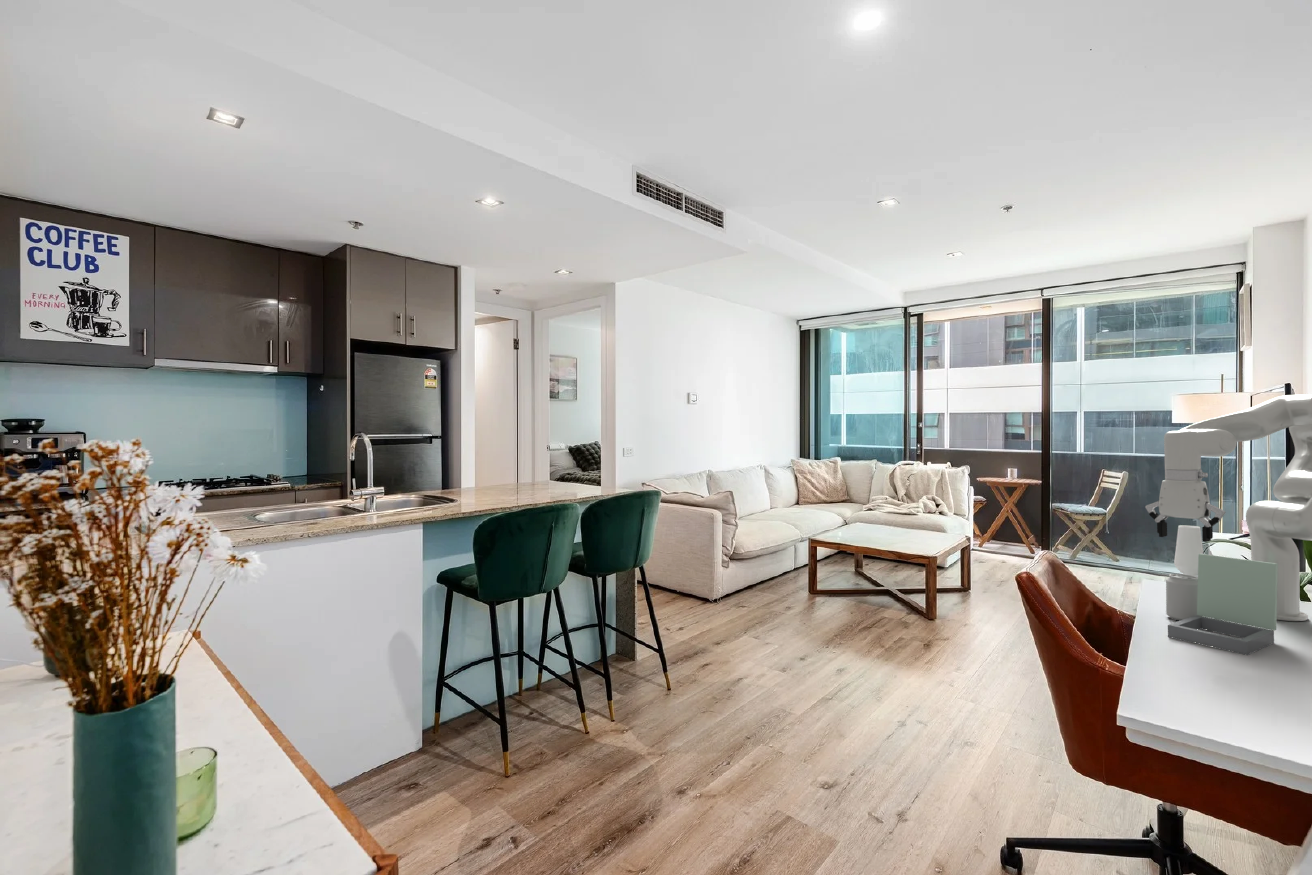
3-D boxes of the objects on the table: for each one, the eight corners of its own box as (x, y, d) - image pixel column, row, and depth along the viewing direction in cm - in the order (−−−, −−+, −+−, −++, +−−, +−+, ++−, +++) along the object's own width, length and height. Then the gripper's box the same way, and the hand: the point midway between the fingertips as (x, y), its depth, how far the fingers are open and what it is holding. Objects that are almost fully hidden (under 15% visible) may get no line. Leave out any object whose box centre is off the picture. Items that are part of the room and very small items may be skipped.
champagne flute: (1202, 609, 179) (1202, 525, 179) (1207, 615, 173) (1207, 528, 173) (1172, 605, 183) (1172, 524, 182) (1176, 611, 177) (1176, 527, 177)
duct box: (1196, 626, 163) (1196, 615, 163) (1273, 642, 150) (1273, 630, 150) (1167, 636, 156) (1167, 624, 156) (1246, 655, 142) (1246, 641, 142)
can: (1203, 625, 164) (1203, 579, 164) (1167, 620, 169) (1166, 576, 169) (1201, 618, 170) (1200, 574, 170) (1165, 614, 175) (1165, 571, 175)
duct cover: (1196, 614, 164) (1199, 614, 164) (1274, 630, 150) (1276, 629, 151) (1198, 553, 164) (1200, 553, 165) (1275, 563, 151) (1277, 563, 151)
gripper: (1229, 476, 164) (1231, 541, 164) (1151, 473, 179) (1153, 533, 179) (1217, 478, 160) (1219, 544, 160) (1138, 475, 175) (1140, 536, 175)
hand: (1184, 538), depth 169 cm, fingers open, 9 cm apart
